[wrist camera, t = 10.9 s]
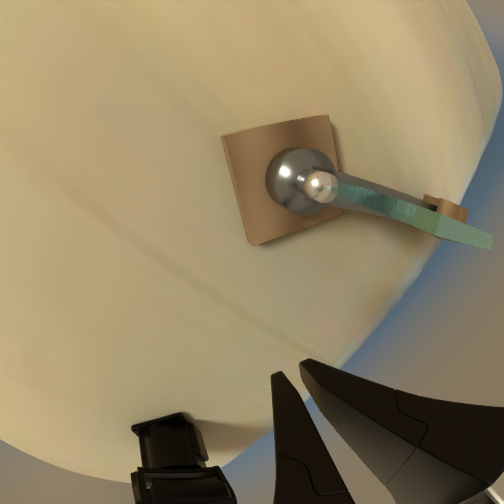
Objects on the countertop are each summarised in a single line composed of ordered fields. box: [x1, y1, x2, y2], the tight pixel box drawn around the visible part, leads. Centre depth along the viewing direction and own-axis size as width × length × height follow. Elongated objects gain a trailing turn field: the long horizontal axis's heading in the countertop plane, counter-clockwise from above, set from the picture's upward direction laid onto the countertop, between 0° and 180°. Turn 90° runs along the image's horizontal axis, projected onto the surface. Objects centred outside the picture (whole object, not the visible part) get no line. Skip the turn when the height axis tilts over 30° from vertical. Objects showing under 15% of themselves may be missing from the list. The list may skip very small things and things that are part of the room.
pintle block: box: [221, 115, 344, 246], centre depth 20 cm, size 8×8×1 cm
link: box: [265, 147, 494, 250], centre depth 18 cm, size 19×4×10 cm, turn 78°
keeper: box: [423, 195, 469, 243], centre depth 25 cm, size 5×4×5 cm
